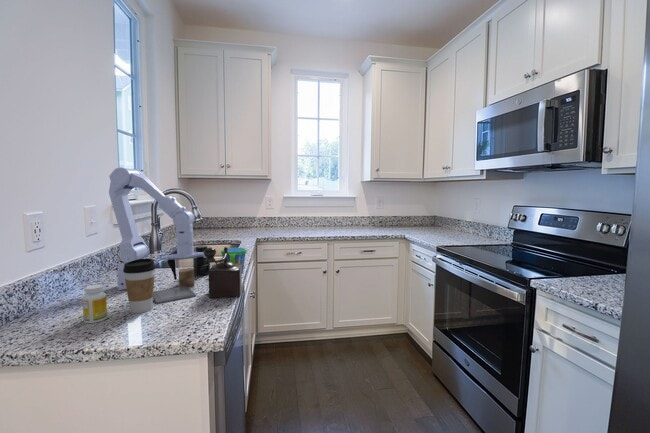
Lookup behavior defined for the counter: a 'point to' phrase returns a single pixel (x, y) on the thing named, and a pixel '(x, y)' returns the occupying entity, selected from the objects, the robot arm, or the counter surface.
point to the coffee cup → (140, 284)
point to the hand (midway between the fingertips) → (186, 277)
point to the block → (186, 277)
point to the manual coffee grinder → (223, 276)
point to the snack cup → (236, 256)
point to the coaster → (173, 294)
